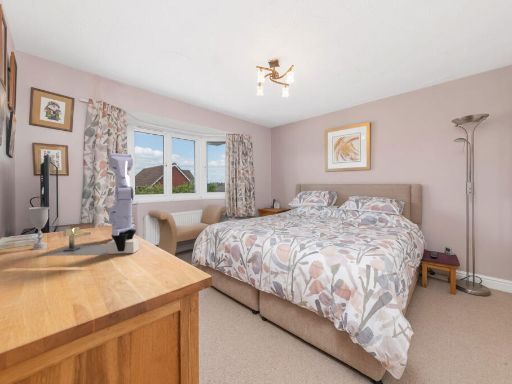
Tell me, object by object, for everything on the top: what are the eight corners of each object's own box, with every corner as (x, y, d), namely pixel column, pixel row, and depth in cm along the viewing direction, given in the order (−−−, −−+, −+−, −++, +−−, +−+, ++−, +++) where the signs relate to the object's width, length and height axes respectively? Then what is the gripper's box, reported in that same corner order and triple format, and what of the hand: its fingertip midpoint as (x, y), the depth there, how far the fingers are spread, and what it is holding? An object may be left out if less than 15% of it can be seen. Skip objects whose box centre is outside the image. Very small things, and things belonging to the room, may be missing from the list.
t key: (62, 250, 93) (62, 229, 93) (87, 242, 106) (87, 224, 105) (66, 250, 93) (66, 230, 93) (90, 242, 105) (90, 224, 105)
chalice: (33, 246, 104) (32, 207, 103) (52, 245, 107) (52, 206, 106) (25, 251, 97) (24, 208, 97) (46, 249, 100) (45, 208, 99)
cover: (114, 250, 97) (113, 239, 96) (138, 249, 97) (138, 239, 97) (107, 253, 92) (107, 242, 91) (133, 252, 93) (133, 241, 92)
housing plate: (69, 247, 103) (69, 244, 103) (125, 246, 106) (125, 243, 106) (41, 258, 89) (41, 254, 88) (106, 257, 91) (106, 253, 91)
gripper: (122, 214, 101) (122, 244, 101) (103, 219, 87) (104, 254, 87) (139, 214, 102) (139, 244, 102) (123, 219, 87) (123, 254, 88)
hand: (124, 249), depth 95 cm, fingers closed on cover, 5 cm apart
